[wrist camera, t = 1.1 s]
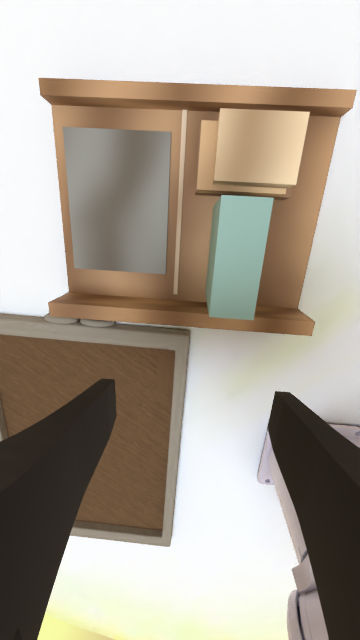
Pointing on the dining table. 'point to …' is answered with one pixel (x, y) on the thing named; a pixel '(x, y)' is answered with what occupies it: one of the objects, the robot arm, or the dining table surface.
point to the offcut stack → (250, 153)
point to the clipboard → (131, 407)
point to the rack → (173, 200)
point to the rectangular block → (236, 255)
